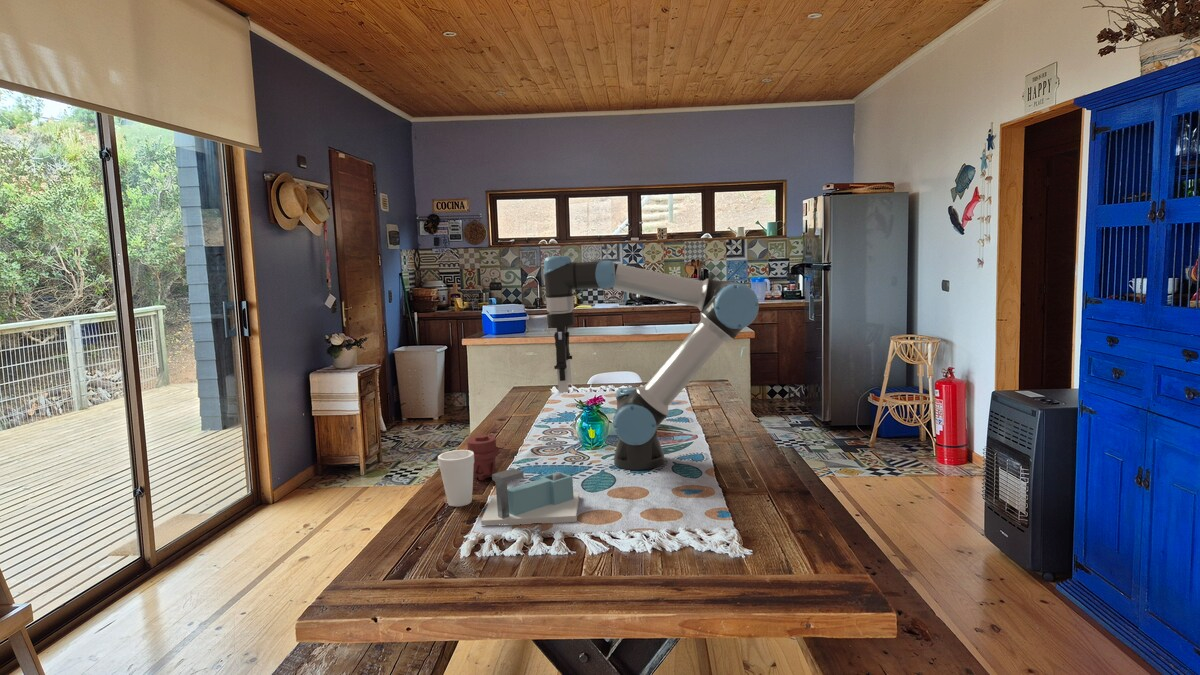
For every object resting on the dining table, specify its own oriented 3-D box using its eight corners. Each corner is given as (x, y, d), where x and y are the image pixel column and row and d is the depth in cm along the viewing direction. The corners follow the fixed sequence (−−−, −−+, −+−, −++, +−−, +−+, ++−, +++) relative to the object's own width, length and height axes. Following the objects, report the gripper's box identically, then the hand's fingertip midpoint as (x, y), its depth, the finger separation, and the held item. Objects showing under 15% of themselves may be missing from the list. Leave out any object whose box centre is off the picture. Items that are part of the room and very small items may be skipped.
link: (560, 493, 191) (558, 471, 190) (573, 498, 187) (572, 476, 186) (504, 511, 181) (503, 488, 180) (517, 517, 176) (516, 493, 175)
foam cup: (447, 511, 187) (442, 462, 186) (437, 501, 195) (433, 454, 194) (482, 503, 192) (478, 455, 190) (471, 493, 200) (467, 447, 198)
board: (579, 497, 192) (577, 468, 191) (576, 521, 175) (574, 489, 174) (492, 501, 192) (490, 472, 191) (481, 526, 176) (478, 494, 175)
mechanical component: (505, 471, 218) (494, 482, 208) (474, 471, 220) (461, 482, 210) (502, 431, 216) (491, 440, 206) (471, 431, 218) (458, 440, 208)
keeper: (517, 514, 182) (513, 468, 181) (526, 518, 179) (523, 471, 177) (495, 521, 178) (491, 474, 177) (505, 526, 175) (501, 478, 173)
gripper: (550, 308, 214) (555, 379, 216) (542, 317, 189) (548, 397, 192) (576, 307, 213) (580, 378, 216) (571, 315, 189) (576, 395, 191)
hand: (565, 387), depth 204 cm, fingers open, 13 cm apart
